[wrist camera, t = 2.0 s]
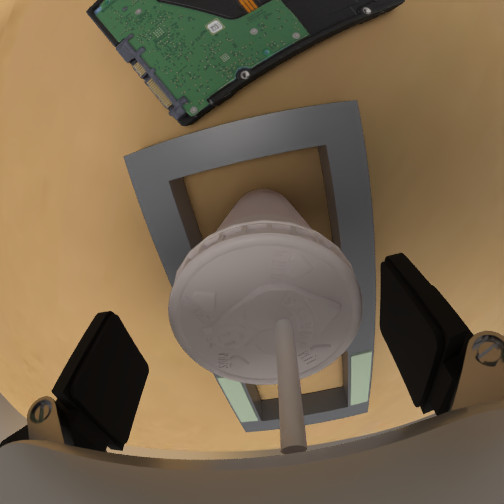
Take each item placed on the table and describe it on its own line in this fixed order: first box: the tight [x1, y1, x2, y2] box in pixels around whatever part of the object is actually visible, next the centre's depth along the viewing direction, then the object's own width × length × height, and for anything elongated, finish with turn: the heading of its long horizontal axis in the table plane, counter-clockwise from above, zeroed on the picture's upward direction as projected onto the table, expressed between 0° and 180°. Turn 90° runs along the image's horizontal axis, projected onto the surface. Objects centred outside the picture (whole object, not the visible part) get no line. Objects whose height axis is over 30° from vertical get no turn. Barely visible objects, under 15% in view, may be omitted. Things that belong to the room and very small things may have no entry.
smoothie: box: [168, 189, 363, 454], centre depth 11 cm, size 6×6×14 cm
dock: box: [124, 100, 376, 432], centre depth 19 cm, size 12×26×3 cm, turn 13°
